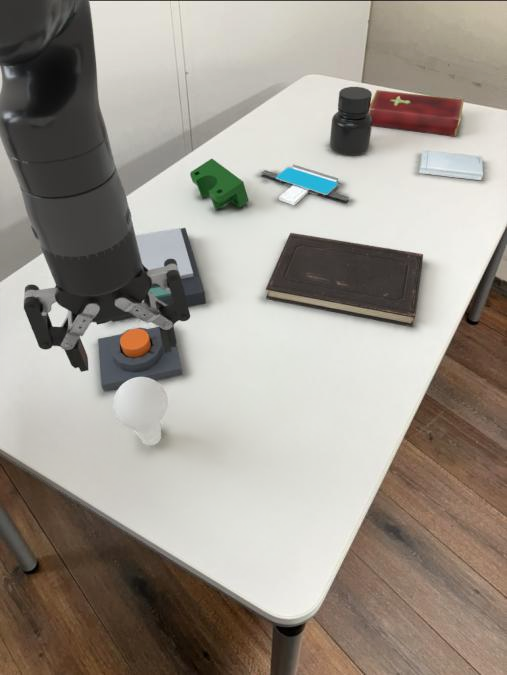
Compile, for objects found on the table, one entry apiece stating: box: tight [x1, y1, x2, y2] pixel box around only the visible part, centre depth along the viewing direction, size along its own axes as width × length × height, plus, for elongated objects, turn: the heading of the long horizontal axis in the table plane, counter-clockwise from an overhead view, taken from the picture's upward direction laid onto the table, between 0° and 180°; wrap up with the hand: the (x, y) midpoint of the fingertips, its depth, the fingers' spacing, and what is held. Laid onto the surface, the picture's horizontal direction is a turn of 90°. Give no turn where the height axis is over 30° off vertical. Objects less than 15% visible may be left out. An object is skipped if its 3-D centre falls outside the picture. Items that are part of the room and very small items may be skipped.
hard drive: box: [418, 149, 484, 181], centre depth 108 cm, size 2×8×12 cm
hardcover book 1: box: [265, 232, 424, 328], centre depth 84 cm, size 16×23×2 cm
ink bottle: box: [329, 86, 373, 156], centre depth 112 cm, size 10×9×12 cm
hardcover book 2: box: [368, 89, 465, 137], centre depth 123 cm, size 12×21×4 cm, turn 71°
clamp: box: [189, 158, 249, 211], centre depth 100 cm, size 12×6×9 cm, turn 29°
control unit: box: [97, 326, 184, 392], centre depth 73 cm, size 11×9×3 cm
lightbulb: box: [113, 377, 169, 446], centre depth 61 cm, size 6×6×11 cm
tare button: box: [120, 328, 151, 358], centre depth 71 cm, size 4×4×2 cm
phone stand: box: [260, 164, 350, 206], centre depth 104 cm, size 20×12×2 cm, turn 56°
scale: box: [110, 227, 207, 322], centre depth 85 cm, size 15×18×3 cm
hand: (126, 356), depth 53 cm, fingers open, 8 cm apart
